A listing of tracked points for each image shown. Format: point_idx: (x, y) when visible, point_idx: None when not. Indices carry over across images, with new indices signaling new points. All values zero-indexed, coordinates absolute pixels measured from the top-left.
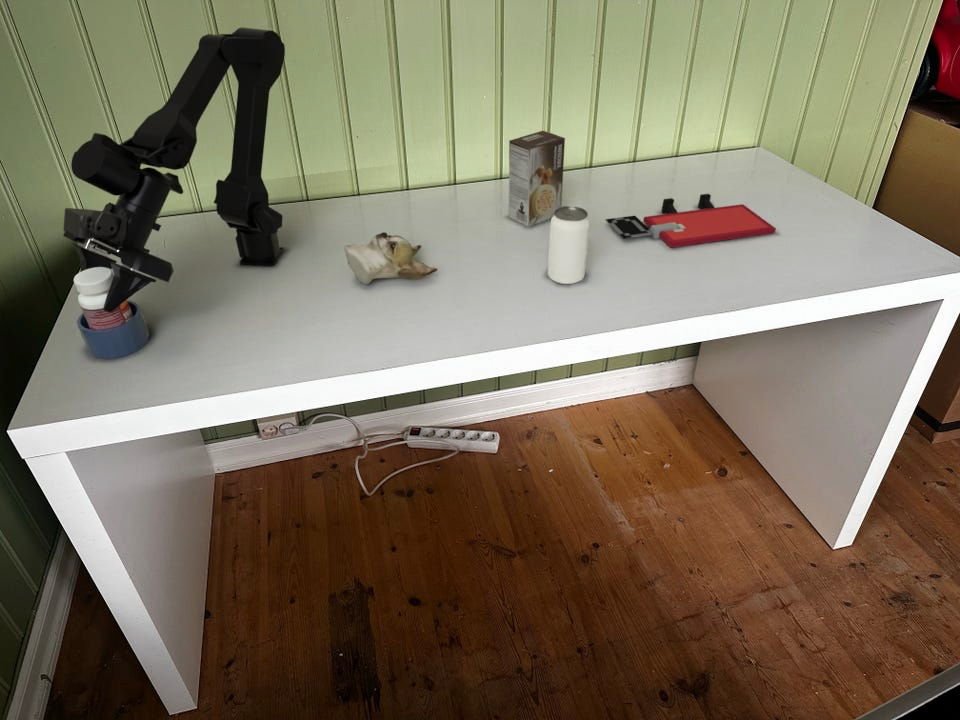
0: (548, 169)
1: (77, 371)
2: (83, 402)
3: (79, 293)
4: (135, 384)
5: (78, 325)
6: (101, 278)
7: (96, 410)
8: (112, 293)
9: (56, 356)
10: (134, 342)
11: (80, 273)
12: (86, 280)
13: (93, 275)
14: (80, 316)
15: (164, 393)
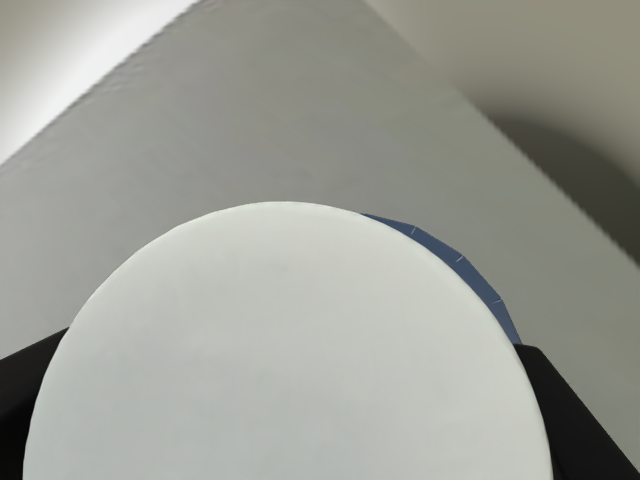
0: None
1: (354, 162)
2: (205, 73)
3: (535, 359)
4: (119, 201)
5: (414, 229)
6: (83, 439)
7: (144, 69)
8: (23, 351)
9: (517, 188)
10: None
11: (504, 441)
12: (247, 317)
13: (251, 467)
14: (490, 301)
15: (11, 208)
